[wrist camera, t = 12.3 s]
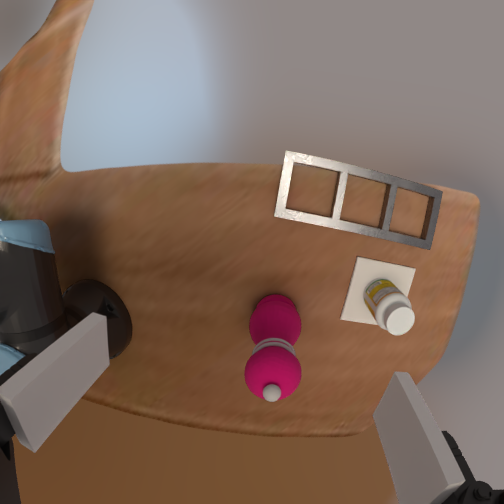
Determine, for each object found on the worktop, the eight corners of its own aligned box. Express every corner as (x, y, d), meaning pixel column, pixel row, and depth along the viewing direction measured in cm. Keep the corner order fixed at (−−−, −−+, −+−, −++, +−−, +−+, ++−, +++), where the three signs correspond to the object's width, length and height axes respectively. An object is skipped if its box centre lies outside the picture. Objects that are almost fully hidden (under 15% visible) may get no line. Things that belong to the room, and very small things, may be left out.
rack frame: (274, 215, 42) (274, 216, 40) (285, 152, 40) (286, 150, 38) (425, 247, 41) (430, 250, 39) (437, 190, 39) (442, 191, 37)
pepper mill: (246, 326, 46) (225, 413, 27) (260, 284, 44) (245, 359, 25) (290, 338, 46) (293, 429, 27) (306, 298, 44) (322, 379, 25)
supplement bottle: (367, 275, 42) (388, 299, 33) (398, 279, 42) (424, 302, 32) (359, 309, 43) (376, 339, 34) (389, 311, 43) (412, 340, 34)
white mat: (339, 317, 44) (340, 319, 44) (356, 256, 42) (357, 257, 41) (395, 325, 44) (396, 327, 43) (414, 267, 42) (415, 268, 41)
